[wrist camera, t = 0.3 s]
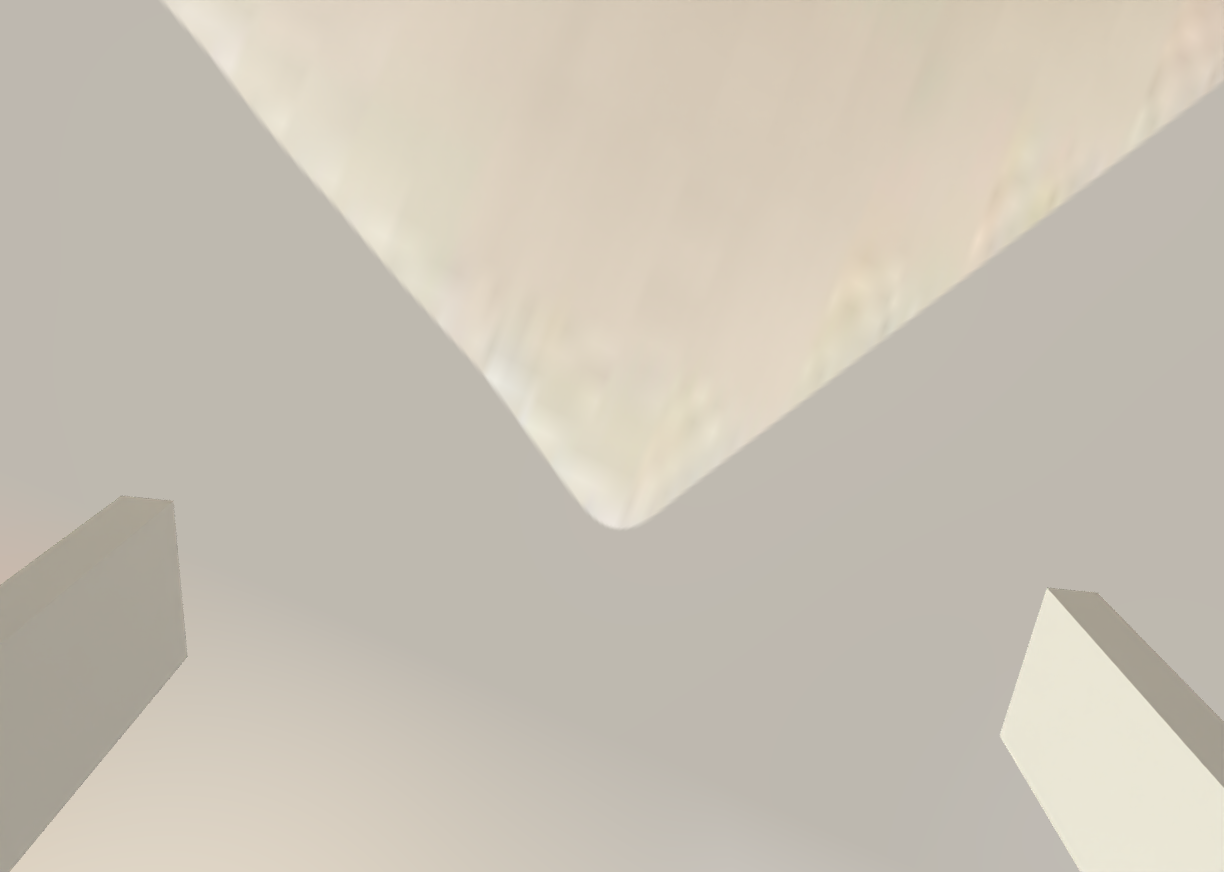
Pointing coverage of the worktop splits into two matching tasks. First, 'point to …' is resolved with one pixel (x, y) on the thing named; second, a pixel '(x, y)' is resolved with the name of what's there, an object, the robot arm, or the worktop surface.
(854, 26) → the worktop surface
